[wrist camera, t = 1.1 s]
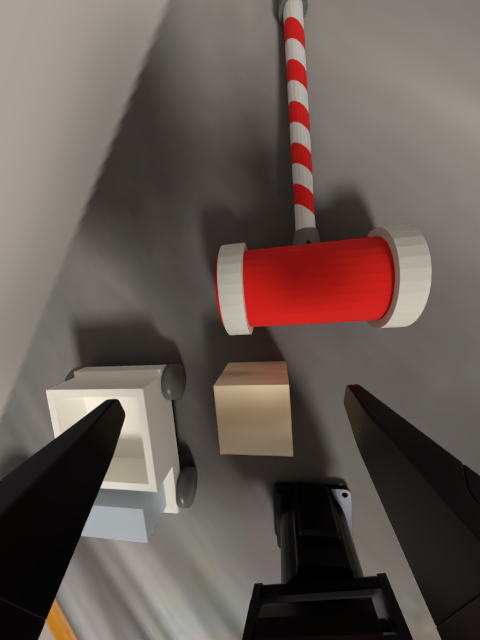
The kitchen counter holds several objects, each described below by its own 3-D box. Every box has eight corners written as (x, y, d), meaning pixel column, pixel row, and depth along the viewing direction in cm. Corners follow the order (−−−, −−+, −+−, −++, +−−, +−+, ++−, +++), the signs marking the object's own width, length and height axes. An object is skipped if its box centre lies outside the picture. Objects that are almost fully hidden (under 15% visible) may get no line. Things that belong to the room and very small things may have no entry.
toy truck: (198, 487, 22) (172, 553, 17) (109, 482, 24) (58, 540, 18) (183, 359, 21) (149, 384, 15) (89, 362, 22) (27, 386, 17)
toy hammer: (212, 30, 17) (177, -116, 11) (381, -15, 15) (452, -223, 9) (235, 327, 20) (217, 344, 14) (381, 320, 18) (436, 336, 12)
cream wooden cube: (289, 415, 20) (293, 456, 15) (233, 415, 21) (220, 453, 16) (285, 360, 19) (289, 384, 15) (228, 362, 20) (213, 385, 15)
